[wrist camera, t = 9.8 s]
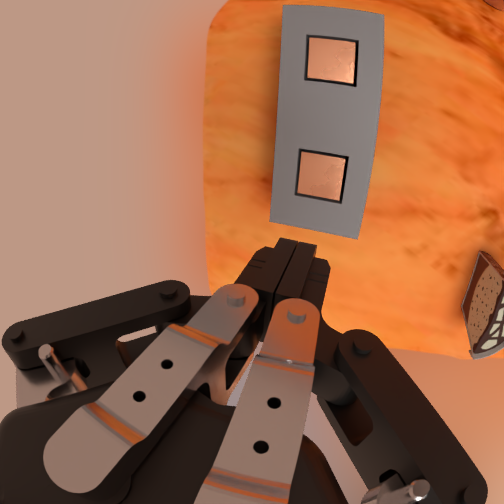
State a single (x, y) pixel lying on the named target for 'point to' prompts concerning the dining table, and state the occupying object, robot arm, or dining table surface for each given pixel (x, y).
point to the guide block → (326, 117)
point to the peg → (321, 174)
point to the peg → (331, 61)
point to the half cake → (485, 307)
